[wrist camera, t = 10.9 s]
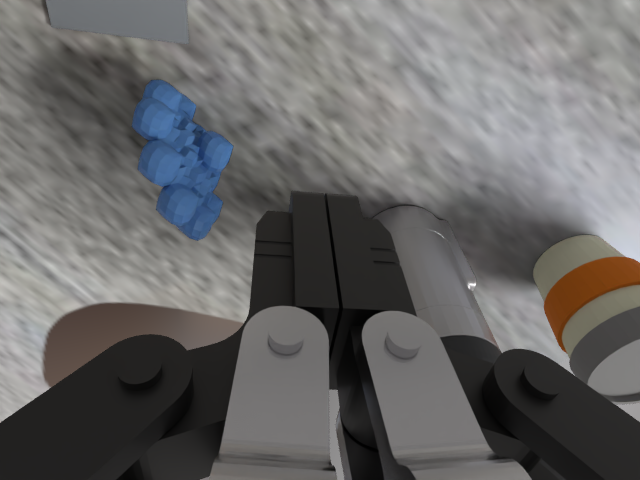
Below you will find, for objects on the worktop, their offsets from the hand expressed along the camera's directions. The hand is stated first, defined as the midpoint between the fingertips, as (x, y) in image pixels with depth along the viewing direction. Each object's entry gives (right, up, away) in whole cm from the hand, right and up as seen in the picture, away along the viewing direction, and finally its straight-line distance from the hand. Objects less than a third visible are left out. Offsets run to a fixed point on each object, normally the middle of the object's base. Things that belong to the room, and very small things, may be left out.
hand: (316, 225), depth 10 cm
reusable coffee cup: (+30, -3, +42) cm, 52 cm away
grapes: (-10, +10, +29) cm, 32 cm away
